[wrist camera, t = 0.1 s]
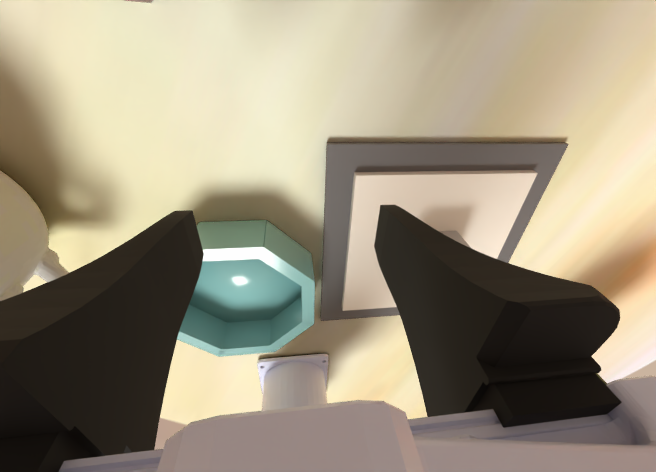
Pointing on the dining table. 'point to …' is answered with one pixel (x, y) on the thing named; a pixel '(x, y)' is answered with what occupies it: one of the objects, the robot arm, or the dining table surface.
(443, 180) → the cover
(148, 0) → the mortar and pestle
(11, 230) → the teacup
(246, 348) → the bowl
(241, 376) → the dining table surface
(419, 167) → the mat
